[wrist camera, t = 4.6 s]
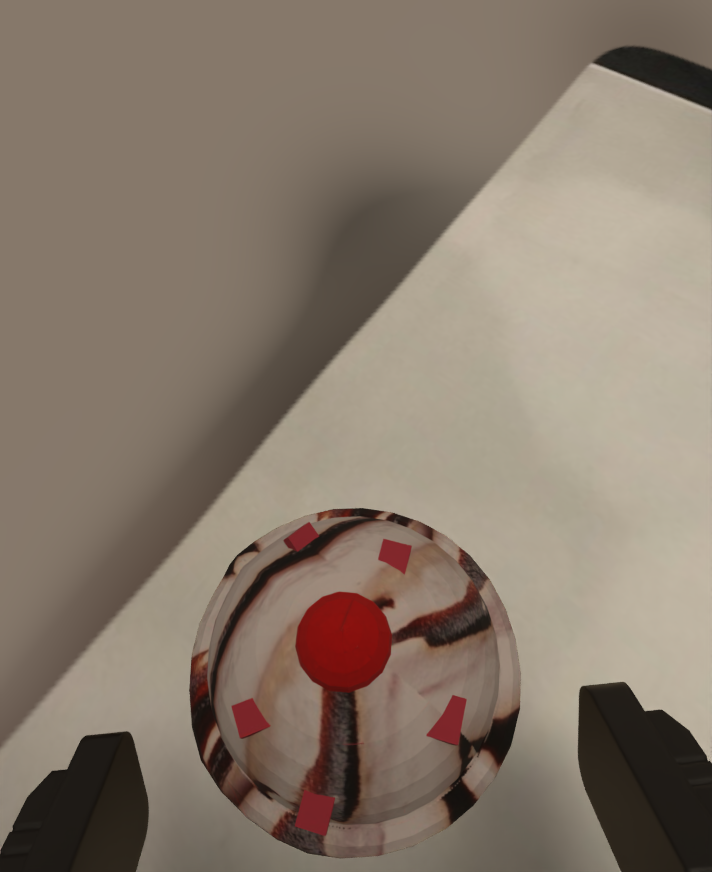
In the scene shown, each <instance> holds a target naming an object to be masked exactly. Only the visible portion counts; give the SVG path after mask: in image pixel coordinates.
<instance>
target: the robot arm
mask: <svg viewBox="0 0 712 872" xmlns="http://www.w3.org/2000/svg"><path fill="white" fill-rule="evenodd" d="M578 760H579V767H580V772H581V777H582V781H583V784H584V787H585V790H586V793H587V795H588V797H589V800H590V802H591V804H592V806H593V809H594V811H595V813H596V815H597V818H598V820H599V822H600V824H601V827H602V829H603V831H604V833H605V836H606V838H607V840H608V843H609V845H610V847H611V849H612V852H613V854H614V856H615V858H616V861H617V863H618V865H619V867H620V870H621V872H712V763H711V762H710V761H708V760H707V756H706V754H705V753H704V751H703V750H702V749H701V747H700V746H699V744H698V743H697V741H696V740H695V738H694V737H693V736H692V734H691V733H690V731H689V730H688V729H687V728H685V727H684V726H683V725H681V724H680V723H679V722H677V721H676V720H675V719H673V718H672V717H671V716H670V715H668V714H667V713H666V712H664V711H663V710H654V711H644V709H643V708H642V706H641V705H640V703H639V701H638V700H637V698H636V697H635V695H634V693H633V692H632V690H631V689H630V687H629V686H628V685H627V684H626V683H625V682H617V683H607V684H598V685H588V686H582V687H581V689H580V692H579V726H578ZM148 817H149V806H148V797H147V793H146V789H145V785H144V781H143V776H142V772H141V768H140V764H139V760H138V756H137V752H136V748H135V744H134V740H133V737H132V735H131V734H130V733H129V732H127V731H126V732H117V733H107V734H97V735H87V736H85V737H83V738H82V740H81V741H80V743H79V745H78V747H77V749H76V751H75V754H74V756H73V758H72V760H71V762H70V764H69V767H68V769H67V770H57V771H52V772H51V773H50V774H49V775H48V776H47V777H46V778H45V779H44V780H43V781H42V782H41V783H40V784H39V785H38V786H37V787H36V789H35V790H34V791H33V792H32V793H31V794H30V795H29V796H28V797H27V799H26V801H25V803H24V805H23V807H22V809H21V811H20V813H19V815H18V817H17V819H16V821H15V823H14V825H13V830H12V832H10V833H9V834H8V836H7V838H6V840H5V842H4V844H3V846H2V848H1V850H0V851H1V854H0V872H136V870H137V866H138V863H139V859H140V856H141V852H142V849H143V845H144V842H145V838H146V834H147V828H148Z"/></svg>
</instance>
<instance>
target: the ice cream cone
mask: <svg viewBox="0 0 712 872" xmlns="http://www.w3.org/2000/svg"><path fill="white" fill-rule="evenodd" d="M520 684H521V672H520V665H519V659H518V652H517V646H516V639H515V636H514V633H513V630H512V627H511V624H510V621H509V618H508V615H507V612H506V609H505V607H504V605H503V603H502V601H501V599H500V598H499V596H498V594H497V592H496V590H495V588H494V586H493V585H492V583H491V581H490V579H489V578H488V577H487V576H486V575H485V573H484V572H483V571H482V570H481V568H480V567H479V566H478V565H477V564H476V562H475V561H474V560H473V559H472V557H471V556H470V555H468V554H467V553H466V552H465V551H464V550H463V549H461V548H460V547H459V546H458V545H457V544H455V543H454V542H453V541H452V540H451V539H449V538H448V537H447V536H445V535H443V534H442V533H440V532H438V531H436V530H434V529H432V528H431V527H429V526H427V525H425V524H423V523H421V522H419V521H416V520H413V519H410V518H407V517H404V516H401V515H398V514H395V513H391V512H384V511H378V510H371V509H364V508H356V509H332V510H328V511H324V512H320V513H316V514H311V515H307V516H304V517H301V518H299V519H297V520H294V521H292V522H290V523H287V524H285V525H282V526H280V527H278V528H276V529H274V530H273V531H271V532H269V533H268V534H266V535H264V536H263V537H261V538H259V539H258V540H256V541H255V542H253V543H252V544H251V545H249V546H248V547H247V548H246V549H244V550H243V551H242V552H241V553H239V554H238V555H237V556H236V557H235V559H234V560H233V561H232V562H231V564H230V565H229V567H228V569H227V571H226V573H225V575H224V577H223V579H222V581H221V582H220V584H219V586H218V587H217V589H216V591H215V592H214V594H213V596H212V598H211V600H210V602H209V604H208V606H207V608H206V611H205V613H204V615H203V617H202V619H201V621H200V624H199V628H198V632H197V636H196V640H195V644H194V648H193V652H192V660H191V674H190V689H189V691H190V705H191V718H192V728H193V732H194V736H195V740H196V743H197V747H198V751H199V755H200V759H201V761H202V763H203V764H204V766H205V767H206V769H207V771H208V772H209V774H210V775H211V777H212V778H213V780H214V781H215V783H216V785H217V786H218V788H219V789H220V791H221V792H222V793H223V794H224V795H225V796H226V797H227V798H228V799H229V800H230V801H231V802H232V803H233V804H234V805H235V806H236V807H237V808H238V809H239V810H240V811H241V812H242V813H243V814H244V815H245V816H246V817H247V818H248V819H250V820H251V821H252V822H254V823H255V824H256V825H258V826H259V827H261V828H262V829H263V830H265V831H266V832H267V833H269V834H270V835H271V836H273V837H274V838H276V839H277V840H279V841H282V842H284V843H286V844H288V845H290V846H293V847H295V848H297V849H299V850H301V851H304V852H306V853H308V854H315V855H322V856H328V857H335V858H353V857H369V856H380V855H383V854H387V853H391V852H394V851H398V850H401V849H405V848H408V847H412V846H414V845H416V844H418V843H420V842H422V841H424V840H426V839H428V838H430V837H431V836H433V835H435V834H437V833H439V832H441V831H443V830H445V829H446V828H448V827H449V826H450V825H451V824H452V823H453V822H455V821H456V820H457V819H458V818H459V817H460V816H462V815H463V814H464V813H465V812H466V811H467V810H469V809H470V808H471V807H472V806H473V805H474V804H475V803H476V802H477V800H478V799H479V798H480V796H481V795H482V794H483V792H484V791H485V790H486V788H487V787H488V786H489V785H490V783H491V782H492V781H493V779H494V778H495V777H496V775H497V773H498V771H499V769H500V767H501V765H502V763H503V761H504V759H505V757H506V755H507V753H508V751H509V749H510V747H511V743H512V739H513V735H514V731H515V727H516V723H517V718H518V714H519V710H520Z"/></svg>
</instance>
